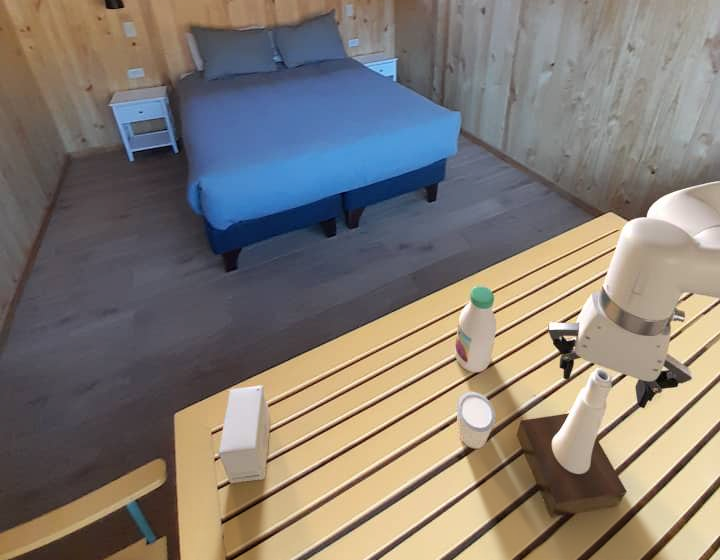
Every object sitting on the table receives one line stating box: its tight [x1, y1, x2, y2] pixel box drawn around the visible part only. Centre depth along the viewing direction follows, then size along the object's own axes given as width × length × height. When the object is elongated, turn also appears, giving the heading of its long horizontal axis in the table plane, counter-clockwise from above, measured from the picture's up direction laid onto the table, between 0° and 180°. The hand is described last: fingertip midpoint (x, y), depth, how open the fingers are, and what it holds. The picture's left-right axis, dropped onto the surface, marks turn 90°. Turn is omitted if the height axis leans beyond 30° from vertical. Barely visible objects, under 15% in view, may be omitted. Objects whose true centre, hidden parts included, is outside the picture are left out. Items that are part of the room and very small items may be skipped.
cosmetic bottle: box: [552, 367, 613, 474], centre depth 64 cm, size 6×6×22 cm
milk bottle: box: [454, 285, 497, 373], centre depth 85 cm, size 8×8×20 cm
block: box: [516, 412, 627, 518], centre depth 70 cm, size 12×12×5 cm
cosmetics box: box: [218, 384, 271, 484], centre depth 72 cm, size 10×6×10 cm, turn 5°
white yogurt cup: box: [456, 391, 496, 450], centre depth 75 cm, size 7×7×7 cm
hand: (601, 383), depth 60 cm, fingers open, 9 cm apart
